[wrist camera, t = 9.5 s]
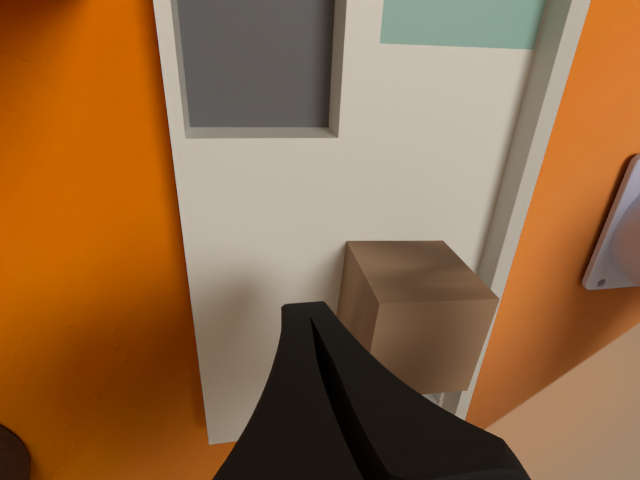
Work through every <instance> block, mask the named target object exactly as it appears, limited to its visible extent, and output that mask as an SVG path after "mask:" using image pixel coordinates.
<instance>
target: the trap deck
mask: <svg viewBox="0 0 640 480" xmlns="http://www.w3.org/2000/svg"><path fill="white" fill-rule="evenodd" d="M590 1H591V0H153V5H154V12H155V20H156V28H157V36H158V44H159V52H160V60H161V68H162V76H163V84H164V92H165V100H166V108H167V115H168V123H169V131H170V139H171V147H172V155H173V163H174V171H175V179H176V187H177V195H178V203H179V211H180V218H181V226H182V234H183V242H184V250H185V258H186V266H187V274H188V282H189V290H190V298H191V306H192V314H193V321H194V329H195V337H196V345H197V353H198V361H199V369H200V377H201V385H202V393H203V401H204V409H205V417H206V424H207V432H208V440H209V445H212V444H220V443H227V442H234V441H238V439H239V437H240V436H241V434H242V432H243V431H244V429H245V427H246V425H247V424H248V422H249V420H250V418H251V416H252V414H253V412H254V410H255V408H256V405H257V403H258V401H259V399H260V397H261V395H262V392H263V390H264V387H265V385H266V382H267V380H268V377H269V374H270V371H271V368H272V365H273V362H274V358H275V355H276V352H277V348H278V343H279V339H280V334H281V307H282V306H283V305H284V304H290V303H303V302H316V301H324V302H325V303H326V304H327V305H328V306H329V307H330V309H331V310H332V311H333V313H334V314H335V315H337V308H338V300H339V293H340V286H341V278H342V271H343V264H344V257H345V249H346V242H347V241H438V240H443V241H444V242H445V243H446V244H447V245H448V246H449V247H450V248H451V249H452V250H453V251H454V252H455V253H456V254H457V255H458V256H459V257H460V258H461V259H462V260H463V262H464V263H465V264H466V265H467V266H468V267H469V268H470V269H471V270H472V271H473V272H474V273H475V274H476V275H477V276H478V277H479V278H480V279H481V280H482V281H483V282H484V283H485V284H486V285H487V286H488V287H489V288H490V289H491V290H492V291H493V293H494V294H495V295H496V296H497V297H498V298H499V299H500V300H499V303H498V306H497V308H496V311H495V314H494V317H493V320H492V323H491V325H490V328H489V331H488V334H487V337H486V340H485V342H484V345H483V348H482V351H481V354H480V357H479V359H478V362H477V365H476V368H475V371H474V374H473V376H472V379H471V382H470V385H469V388H468V391H458V392H446V393H435V394H424V395H423V396H424V397H426V398H427V399H429V400H430V401H432V402H433V403H435V404H436V405H438V406H440V407H441V408H443V409H445V410H446V411H448V412H450V413H452V414H454V415H455V416H457V417H459V418H461V419H462V420H464V421H465V418H466V415H467V411H468V408H469V405H470V401H471V398H472V395H473V391H474V388H475V385H476V381H477V378H478V375H479V371H480V368H481V365H482V361H483V358H484V355H485V351H486V348H487V345H488V341H489V338H490V335H491V331H492V328H493V325H494V321H495V318H496V315H497V311H498V308H499V305H500V301H501V298H502V295H503V291H504V288H505V285H506V281H507V278H508V275H509V271H510V268H511V265H512V261H513V258H514V255H515V251H516V248H517V245H518V241H519V238H520V235H521V231H522V228H523V225H524V221H525V218H526V215H527V211H528V208H529V205H530V201H531V198H532V195H533V191H534V188H535V185H536V181H537V178H538V175H539V171H540V168H541V165H542V161H543V158H544V155H545V151H546V148H547V145H548V141H549V138H550V135H551V131H552V128H553V125H554V121H555V118H556V115H557V111H558V108H559V105H560V101H561V98H562V95H563V91H564V88H565V85H566V81H567V78H568V75H569V71H570V68H571V65H572V61H573V58H574V55H575V51H576V48H577V45H578V41H579V38H580V35H581V31H582V28H583V25H584V21H585V18H586V14H587V11H588V8H589V4H590Z"/></svg>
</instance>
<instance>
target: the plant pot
mask: <svg viewBox="0 0 640 480" xmlns="http://www.w3.org/2000/svg"><path fill="white" fill-rule="evenodd" d="M0 480H30V459H29V454H28V452H27V450H26V448H25V447H24V445H23V444H22V443H21V441H20V440H19V439H18V438H17V437H16V436H14V435H13V434H12V433H10V432H9V431H8V430H6V429H5V428H3V427H1V426H0Z"/></svg>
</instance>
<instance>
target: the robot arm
mask: <svg viewBox="0 0 640 480" xmlns="http://www.w3.org/2000/svg"><path fill="white" fill-rule="evenodd" d="M582 286H583V287H585V288H586V289H587V290H600V289H612V288H624V287H636V286H639V287H640V154H638V155H636V156H635V157H633V158H632V160H631V161H630V163H629V165H628V168H627V170H626V173H625V175H624V178H623V180H622V183H621V185H620V188H619V190H618V193H617V195H616V198H615V200H614V203H613V205H612V208H611V210H610V213H609V215H608V218H607V220H606V223H605V225H604V228H603V230H602V233H601V235H600V238H599V240H598V243H597V245H596V248H595V250H594V253H593V255H592V258H591V260H590V263H589V265H588V267H587V270H586V272H585V275H584V277H583V280H582ZM212 480H531V479H530V477H529V476H528V474H527V473H526V471H525V469H524V468H523V466H522V465H521V463H520V462H519V460H518V459H517V457H516V456H515V454H514V453H513V452H512V450H511V449H510V448H509V447H508V445H507V444H506V443H505V441H504V440H503V439H501V438H499V437H497V436H495V435H493V434H491V433H489V432H486V431H485V430H483V429H481V428H479V427H476V426H474V425H472V424H470V423H468V422H466V421H464V420H462V419H461V418H459V417H457V416H455V415H454V414H452V413H450V412H448V411H446V410H445V409H443V408H441V407H440V406H438V405H436V404H435V403H433V402H432V401H430V400H429V399H427V398H426V397H424V396H423V395H421V394H420V393H418V392H417V391H415V390H414V389H412V388H411V387H409V386H408V385H407V384H405V383H404V382H403V381H401V380H400V379H399V378H398V377H396V376H395V375H394V374H393V373H391V372H390V371H389V370H388V369H387V368H385V367H384V366H383V365H382V364H381V363H380V362H379V361H378V360H377V359H376V358H375V357H374V356H372V355H371V354H370V353H369V352H368V351H367V350H366V349H365V348H364V347H363V346H362V345H361V344H360V342H359V341H358V340H357V339H356V338H355V337H354V336H353V335H352V334H351V333H350V332H349V331H348V329H347V328H346V327H345V326H344V325H343V324H342V322H341V321H340V320H339V319H338V318H337V316H336V315H335V314H334V313H333V311H332V310H331V309H330V307H329V306H328V305H327V304H326V303H325V302H324V301H316V302H303V303H290V304H284V305H283V306H282V307H281V334H280V339H279V343H278V348H277V352H276V355H275V358H274V362H273V365H272V368H271V371H270V374H269V377H268V380H267V382H266V385H265V387H264V390H263V392H262V395H261V397H260V399H259V401H258V403H257V405H256V408H255V410H254V412H253V414H252V416H251V418H250V420H249V422H248V424H247V425H246V427H245V429H244V431H243V432H242V434H241V436H240V437H239V439H238V441H237V443H236V444H235V446H234V448H233V449H232V451H231V453H230V454H229V456H228V457H227V459H226V460H225V462H224V463H223V465H222V466H221V467H220V469H219V470H218V472H217V473H216V475H215V476H214V478H213V479H212Z"/></svg>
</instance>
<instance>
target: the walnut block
mask: <svg viewBox="0 0 640 480" xmlns="http://www.w3.org/2000/svg"><path fill="white" fill-rule="evenodd" d="M499 300H500V299H499V298H498V297H497V296H496V295H495V294H494V293H493V291H492V290H491V289H490V288H489V287H488V286H487V285H486V284H485V283H484V282H483V281H482V280H481V279H480V278H479V277H478V276H477V275H476V274H475V273H474V272H473V271H472V270H471V269H470V268H469V267H468V266H467V265H466V264H465V263H464V262H463V260H462V259H461V258H460V257H459V256H458V255H457V254H456V253H455V252H454V251H453V250H452V249H451V248H450V247H449V246H448V245H447V244H446V243H445V242H444V241H443V240H438V241H347V242H346V249H345V257H344V264H343V271H342V278H341V286H340V293H339V300H338V308H337V315H336V316H337V318H338V319H339V320H340V321H341V322H342V324H343V325H344V326H345V327H346V328H347V329H348V331H349V332H350V333H351V334H352V335H353V336H354V337H355V338H356V339H357V340H358V341H359V342H360V344H361V345H362V346H363V347H364V348H365V349H366V350H367V351H368V352H369V353H370V354H371V355H372V356H374V357H375V358H376V359H377V360H378V361H379V362H380V363H381V364H382V365H383V366H384V367H385V368H387V369H388V370H389V371H390V372H391V373H393V374H394V375H395V376H396V377H398V378H399V379H400V380H401V381H403V382H404V383H405V384H407V385H408V386H409V387H411V388H412V389H414V390H415V391H417V392H418V393H420V394H421V395H424V394H435V393H446V392H458V391H468V388H469V385H470V382H471V379H472V376H473V374H474V371H475V368H476V365H477V362H478V359H479V357H480V354H481V351H482V348H483V345H484V342H485V340H486V337H487V334H488V331H489V328H490V325H491V323H492V320H493V317H494V314H495V311H496V308H497V306H498V303H499Z"/></svg>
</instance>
